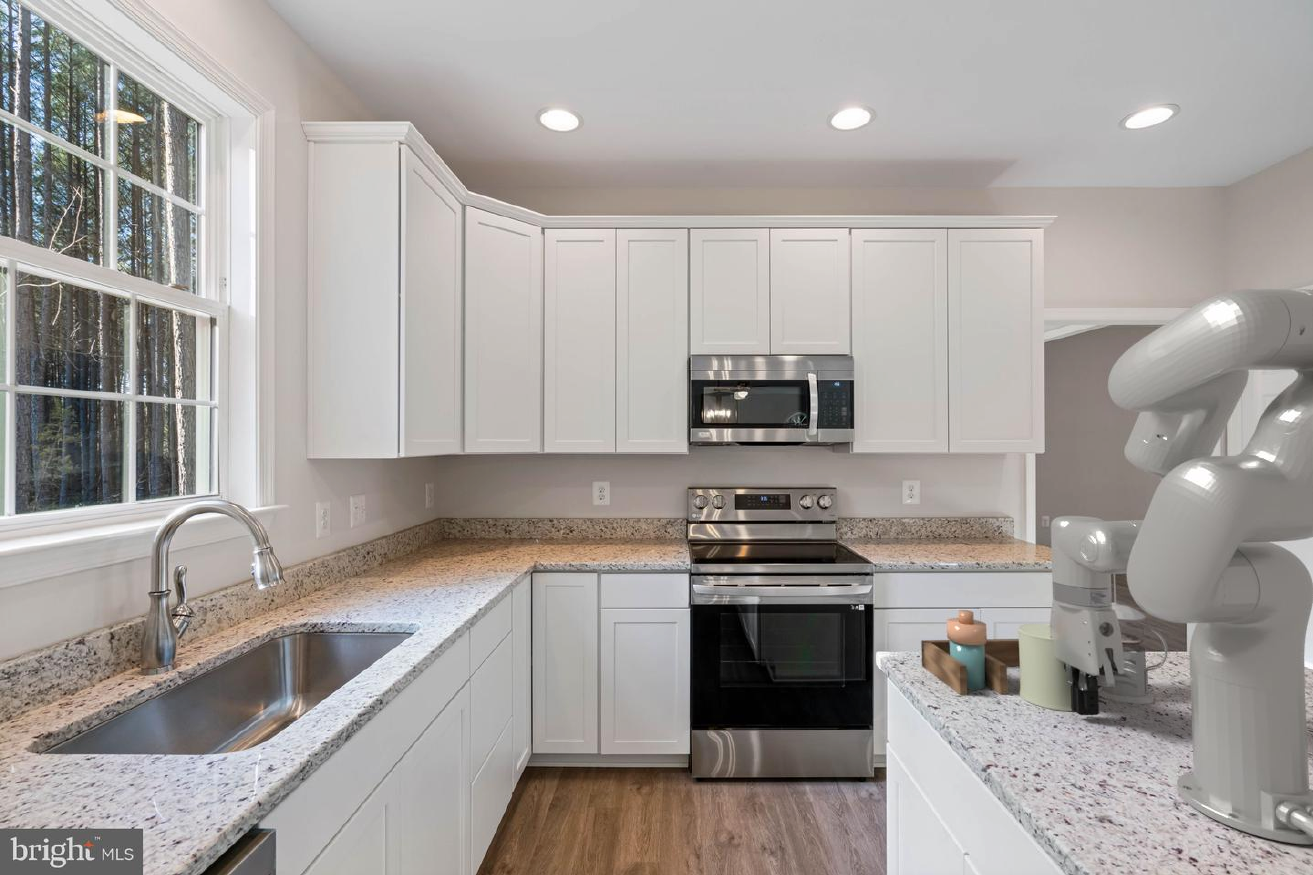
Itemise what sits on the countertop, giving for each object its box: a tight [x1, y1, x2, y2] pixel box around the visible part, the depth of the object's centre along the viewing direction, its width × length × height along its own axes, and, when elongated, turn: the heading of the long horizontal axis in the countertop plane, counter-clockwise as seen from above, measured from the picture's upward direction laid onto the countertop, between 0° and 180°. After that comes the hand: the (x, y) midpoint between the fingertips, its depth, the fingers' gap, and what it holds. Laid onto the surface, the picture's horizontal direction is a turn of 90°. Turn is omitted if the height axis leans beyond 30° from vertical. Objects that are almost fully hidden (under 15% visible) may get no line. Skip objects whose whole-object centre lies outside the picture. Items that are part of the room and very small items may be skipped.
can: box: [1017, 623, 1074, 712], centre depth 99 cm, size 9×9×12 cm
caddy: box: [920, 638, 1020, 696], centre depth 108 cm, size 14×22×5 cm, turn 91°
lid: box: [946, 609, 988, 645], centre depth 106 cm, size 6×6×5 cm
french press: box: [1098, 574, 1169, 705], centre depth 101 cm, size 10×12×25 cm
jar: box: [950, 640, 987, 691], centre depth 106 cm, size 6×6×8 cm
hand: (1085, 712), depth 91 cm, fingers closed
